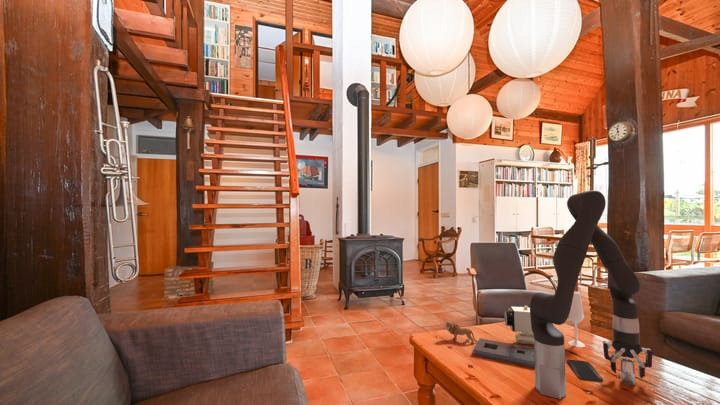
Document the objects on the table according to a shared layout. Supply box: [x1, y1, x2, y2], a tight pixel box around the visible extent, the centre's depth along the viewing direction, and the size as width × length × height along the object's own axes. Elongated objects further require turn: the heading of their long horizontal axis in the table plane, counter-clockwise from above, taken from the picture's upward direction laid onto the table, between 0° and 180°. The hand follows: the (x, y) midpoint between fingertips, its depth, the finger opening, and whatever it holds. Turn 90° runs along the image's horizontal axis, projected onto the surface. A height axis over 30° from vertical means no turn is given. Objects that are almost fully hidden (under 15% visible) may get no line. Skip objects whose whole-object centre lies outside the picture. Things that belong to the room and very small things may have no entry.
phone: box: [566, 359, 604, 383], centre depth 124 cm, size 8×1×15 cm
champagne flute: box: [567, 291, 586, 348], centre depth 149 cm, size 7×7×24 cm
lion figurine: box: [445, 320, 478, 345], centre depth 154 cm, size 15×5×9 cm, turn 71°
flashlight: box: [619, 356, 636, 386], centre depth 116 cm, size 4×4×8 cm
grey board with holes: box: [472, 338, 535, 369], centre depth 139 cm, size 14×24×2 cm, turn 59°
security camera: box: [503, 305, 534, 346], centre depth 150 cm, size 18×8×18 cm, turn 75°
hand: (627, 374), depth 115 cm, fingers open, 7 cm apart
